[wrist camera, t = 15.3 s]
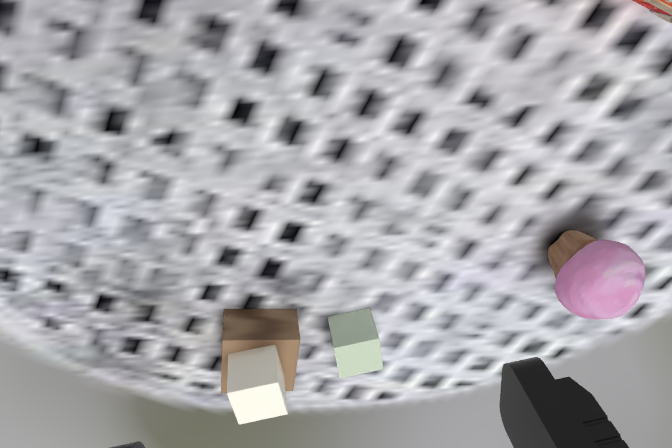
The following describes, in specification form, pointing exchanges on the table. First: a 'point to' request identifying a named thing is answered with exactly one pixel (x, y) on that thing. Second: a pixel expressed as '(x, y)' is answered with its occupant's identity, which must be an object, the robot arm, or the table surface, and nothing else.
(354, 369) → the sage green cube
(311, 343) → the table surface
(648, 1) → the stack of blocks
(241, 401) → the cream cube
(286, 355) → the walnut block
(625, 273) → the cupcake
